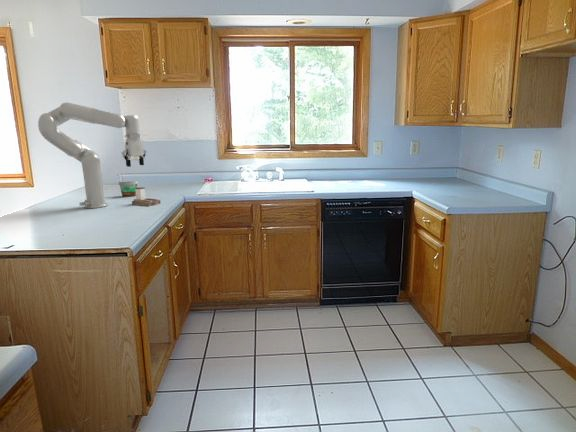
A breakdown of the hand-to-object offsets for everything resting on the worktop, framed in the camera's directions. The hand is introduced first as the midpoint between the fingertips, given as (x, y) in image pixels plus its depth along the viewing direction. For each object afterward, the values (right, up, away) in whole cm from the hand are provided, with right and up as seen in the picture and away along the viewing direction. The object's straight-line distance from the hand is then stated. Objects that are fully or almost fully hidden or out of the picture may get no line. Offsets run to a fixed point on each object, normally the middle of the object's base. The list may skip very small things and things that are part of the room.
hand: (135, 165), depth 250 cm
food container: (-14, -17, +27) cm, 35 cm away
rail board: (+7, -23, 0) cm, 24 cm away
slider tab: (+3, -20, +1) cm, 20 cm away
